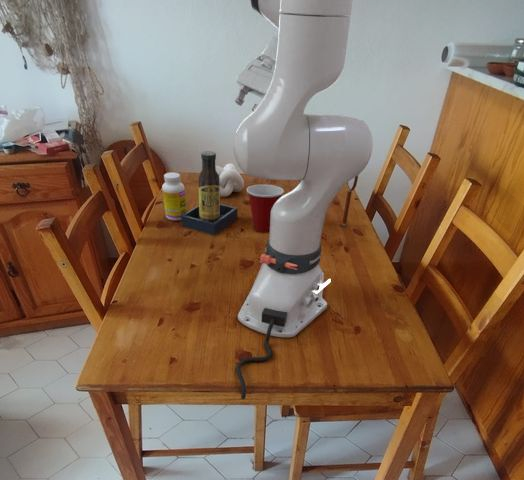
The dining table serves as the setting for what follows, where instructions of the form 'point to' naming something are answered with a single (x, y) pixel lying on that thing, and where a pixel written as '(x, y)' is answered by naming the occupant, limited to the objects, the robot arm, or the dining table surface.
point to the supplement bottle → (174, 196)
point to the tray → (194, 222)
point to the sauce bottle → (209, 189)
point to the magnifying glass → (349, 197)
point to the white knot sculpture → (229, 180)
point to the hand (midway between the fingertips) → (245, 108)
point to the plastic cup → (263, 204)
